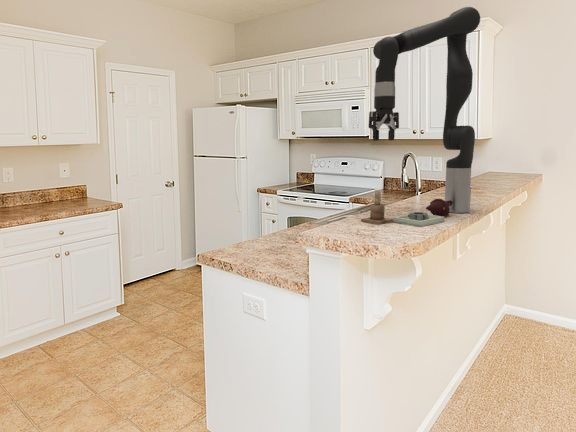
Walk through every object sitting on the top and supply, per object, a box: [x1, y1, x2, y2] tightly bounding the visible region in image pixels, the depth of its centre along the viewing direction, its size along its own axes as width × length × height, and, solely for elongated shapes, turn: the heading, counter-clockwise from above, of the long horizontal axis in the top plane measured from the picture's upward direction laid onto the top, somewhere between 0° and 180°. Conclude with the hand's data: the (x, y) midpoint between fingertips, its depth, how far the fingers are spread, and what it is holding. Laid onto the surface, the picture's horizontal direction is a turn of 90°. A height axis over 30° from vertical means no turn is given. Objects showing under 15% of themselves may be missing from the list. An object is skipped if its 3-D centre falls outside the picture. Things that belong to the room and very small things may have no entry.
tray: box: [392, 213, 445, 228], centre depth 161 cm, size 14×12×2 cm
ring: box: [408, 211, 429, 221], centre depth 161 cm, size 8×6×2 cm
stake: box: [360, 189, 394, 226], centre depth 162 cm, size 8×8×11 cm
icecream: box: [425, 198, 453, 217], centre depth 172 cm, size 7×7×15 cm
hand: (383, 140), depth 172 cm, fingers open, 8 cm apart
